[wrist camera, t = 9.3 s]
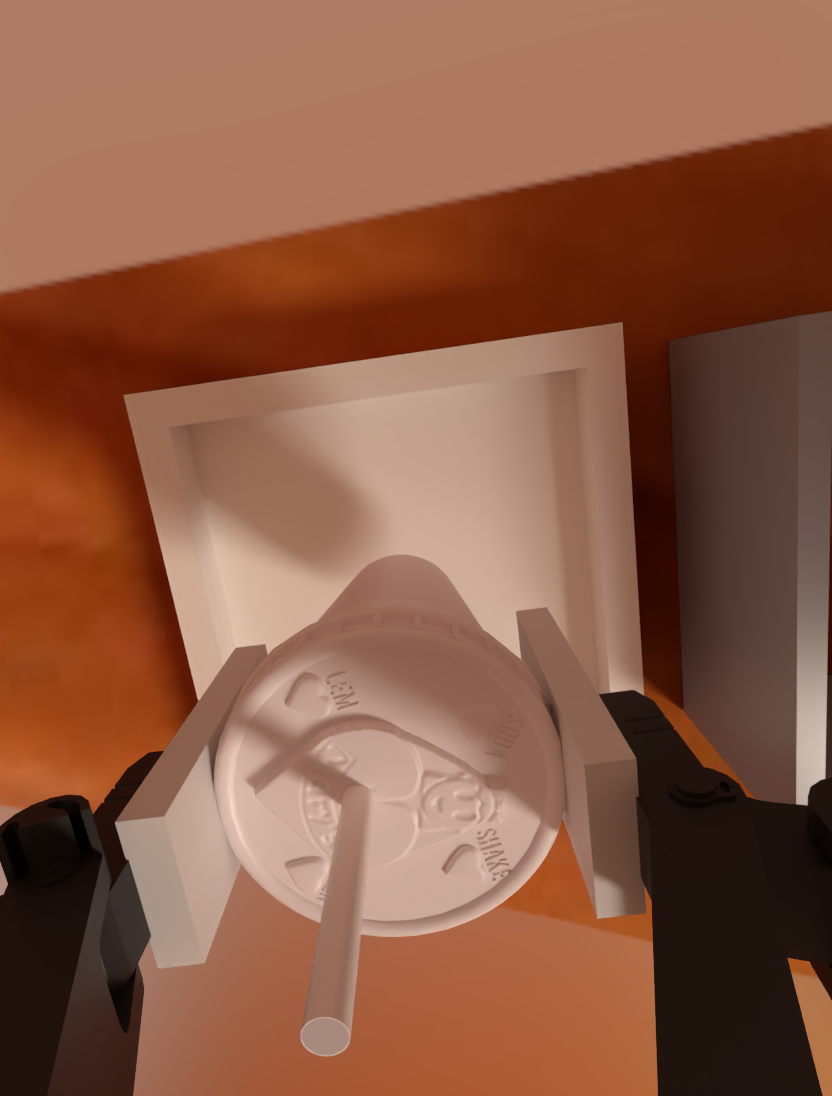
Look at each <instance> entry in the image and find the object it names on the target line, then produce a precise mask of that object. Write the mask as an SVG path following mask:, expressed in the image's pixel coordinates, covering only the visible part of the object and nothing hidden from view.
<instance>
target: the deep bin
mask: <svg viewBox="0 0 832 1096" xmlns="http://www.w3.org/2000/svg"><path fill="white" fill-rule="evenodd" d="M668 344H669V368H670V392H671V417H672V441H673V465H674V489H675V513H676V537H677V562H678V586H679V610H680V634H681V658H682V683H683V707H684V712H685V713H686V714H687V716H688V717H689V718H690V719H691V720H692V722H693V723H694V724H695V725H696V727H697V728H698V729H699V730H700V731H701V733H702V734H703V735H704V736H705V738H706V739H707V740H708V741H709V742H710V744H711V745H712V746H713V747H714V748H715V750H716V751H717V752H718V753H719V755H720V756H721V757H722V758H723V759H724V761H725V762H726V763H727V764H728V766H729V767H730V768H731V769H732V770H733V772H734V773H735V774H736V775H737V777H738V778H739V779H740V780H741V781H742V783H743V784H744V785H745V786H746V787H747V789H748V790H749V791H750V792H751V794H752V795H753V796H754V797H755V798H756V800H762V801H768V802H776V803H787V804H798V805H808V794H809V791H810V787H811V786H813V785H814V784H816V783H817V782H818V781H820V780H822V779H827V778H832V675H827V661H828V608H829V555H830V501H831V448H832V311H828V312H821V313H814V314H807V315H800V316H795V317H789V318H784V319H779V320H774V321H768V322H763V323H758V324H752V325H747V326H742V327H737V328H731V329H726V330H721V331H715V332H710V333H705V334H700V335H694V336H689V337H684V338H679V339H673V340H668Z"/></svg>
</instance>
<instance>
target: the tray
mask: <svg viewBox="0 0 832 1096" xmlns="http://www.w3.org/2000/svg"><path fill="white" fill-rule="evenodd" d="M123 396H124V400H125V404H126V408H127V412H128V416H129V420H130V424H131V428H132V432H133V437H134V441H135V445H136V449H137V453H138V457H139V461H140V465H141V469H142V473H143V477H144V482H145V486H146V490H147V494H148V498H149V502H150V506H151V510H152V514H153V518H154V522H155V526H156V531H157V535H158V539H159V543H160V547H161V551H162V555H163V559H164V563H165V567H166V571H167V576H168V580H169V584H170V588H171V592H172V596H173V600H174V604H175V608H176V612H177V616H178V621H179V625H180V629H181V633H182V637H183V641H184V645H185V649H186V653H187V657H188V661H189V666H190V670H191V674H192V678H193V682H194V686H195V690H196V694H197V698H198V701H199V700H200V699H201V697H202V696H203V694H204V693H205V691H206V690H207V688H208V687H209V686H210V684H211V683H212V681H213V680H214V678H215V677H216V675H217V674H218V673H219V671H220V670H221V668H222V667H223V665H224V664H225V662H226V661H227V660H228V658H229V657H230V655H231V654H232V652H233V651H234V649H235V648H238V647H246V646H254V645H261V644H266V649H267V654H269V653H270V652H271V651H272V650H273V649H274V648H275V647H277V646H278V645H280V644H281V643H283V642H284V641H286V640H287V639H289V638H290V637H292V636H293V635H295V634H296V633H298V632H299V631H301V630H302V629H304V628H305V627H307V626H308V625H310V624H312V623H315V622H317V621H318V620H319V618H320V617H321V616H322V615H323V614H324V613H325V612H326V610H327V609H328V608H329V607H330V606H331V605H332V603H333V602H334V601H335V600H336V599H337V598H338V596H339V595H340V594H341V593H342V592H343V591H344V589H345V588H346V587H347V586H348V585H349V584H350V583H351V581H352V580H353V579H354V578H355V577H356V576H357V574H358V573H359V572H360V571H361V570H362V569H363V568H365V567H366V566H367V565H369V564H370V563H372V562H374V561H376V560H378V559H380V558H383V557H386V556H391V555H412V556H417V557H420V558H423V559H425V560H428V561H430V562H431V563H433V564H435V565H436V566H437V567H439V568H440V569H441V570H442V571H443V572H444V573H445V574H446V575H447V576H448V578H449V579H450V581H451V582H452V584H453V585H454V587H455V588H456V590H457V591H458V593H459V594H460V596H461V597H462V599H463V600H464V602H465V603H466V605H467V606H468V608H469V609H470V611H471V612H472V614H473V615H474V617H475V618H476V620H477V621H478V623H479V624H480V626H481V627H482V629H483V630H484V631H485V632H488V633H489V634H490V635H492V636H493V637H494V638H495V639H496V640H498V641H499V642H500V643H501V644H503V645H504V646H505V647H506V648H507V649H509V650H510V651H511V652H512V653H514V654H515V655H516V656H517V657H518V658H520V659H521V653H520V643H519V634H518V625H517V615H516V611H521V610H528V609H536V608H544V607H547V608H548V610H549V612H550V613H551V615H552V617H553V618H554V620H555V622H556V623H557V625H558V627H559V628H560V630H561V632H562V634H563V635H564V637H565V639H566V640H567V642H568V644H569V645H570V647H571V649H572V650H573V652H574V654H575V656H576V657H577V659H578V661H579V662H580V664H581V666H582V667H583V669H584V671H585V672H586V674H587V676H588V678H589V679H590V681H591V683H592V684H593V686H594V688H595V689H596V691H597V693H598V694H604V693H612V692H620V691H628V690H635V691H637V692H639V693H640V694H642V695H644V686H643V668H642V651H641V634H640V616H639V599H638V582H637V564H636V547H635V530H634V512H633V495H632V478H631V460H630V443H629V425H628V408H627V391H626V373H625V356H624V339H623V322H620V323H613V324H606V325H599V326H593V327H586V328H579V329H572V330H565V331H558V332H552V333H545V334H538V335H531V336H524V337H517V338H511V339H504V340H497V341H490V342H483V343H476V344H470V345H463V346H456V347H449V348H442V349H435V350H428V351H422V352H415V353H408V354H401V355H394V356H387V357H381V358H374V359H367V360H360V361H353V362H346V363H340V364H333V365H326V366H319V367H312V368H305V369H298V370H292V371H285V372H278V373H271V374H264V375H257V376H251V377H244V378H237V379H230V380H223V381H216V382H210V383H203V384H196V385H189V386H182V387H175V388H168V389H162V390H155V391H148V392H141V393H134V394H127V395H123Z"/></svg>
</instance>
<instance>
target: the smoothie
mask: <svg viewBox="0 0 832 1096" xmlns="http://www.w3.org/2000/svg"><path fill="white" fill-rule="evenodd" d="M214 792H215V799H216V803H217V807H218V813H219V817H220V820H221V823H222V827H223V831H224V833H225V835H226V838H227V840H228V842H229V844H230V846H231V848H232V849H233V851H234V853H235V855H236V856H237V858H238V859H239V861H240V862H241V863H242V865H243V866H244V868H245V869H246V870H247V871H248V872H249V873H250V875H251V876H252V877H253V878H254V879H255V880H256V882H258V883H259V884H260V885H261V886H262V887H263V888H264V889H265V890H266V891H267V892H268V893H270V894H271V895H272V896H273V897H275V898H276V899H277V900H278V901H280V902H281V903H283V904H284V905H286V906H287V907H289V908H290V909H292V910H294V911H295V912H297V913H299V914H301V915H303V916H305V917H307V918H309V919H312V920H314V921H316V922H318V923H320V927H319V933H318V939H317V944H316V950H315V956H314V961H313V967H312V973H311V978H310V984H309V989H308V995H307V1001H306V1006H305V1012H304V1017H303V1023H302V1029H301V1035H300V1037H301V1042H302V1044H303V1045H304V1047H305V1048H306V1049H307V1050H309V1051H310V1052H312V1053H314V1054H316V1055H320V1056H333V1055H336V1054H339V1053H341V1052H342V1051H344V1050H345V1049H346V1048H347V1046H348V1045H349V1043H350V1037H351V1028H352V1018H353V1008H354V998H355V988H356V978H357V968H358V958H359V947H360V938H361V934H364V935H372V936H381V937H399V936H400V937H401V936H417V935H421V934H427V933H433V932H437V931H441V930H446V929H449V928H452V927H455V926H457V925H461V924H463V923H466V922H468V921H470V920H473V919H475V918H477V917H479V916H481V915H483V914H485V913H486V912H488V911H490V910H492V909H493V908H495V907H496V906H498V905H499V904H501V903H502V902H504V901H505V900H506V899H508V898H509V897H510V896H511V895H513V894H514V893H515V892H516V891H517V890H518V889H520V888H521V887H522V886H523V885H524V884H525V883H526V882H527V881H528V880H529V878H530V877H531V876H532V875H533V874H534V872H535V871H536V870H537V869H538V868H539V866H540V865H541V863H542V862H543V860H544V859H545V857H546V856H547V854H548V852H549V850H550V848H551V847H552V845H553V843H554V841H555V838H556V836H557V833H558V831H559V828H560V825H561V822H562V818H563V815H564V809H565V804H566V786H565V772H564V763H563V755H562V746H561V741H560V738H559V735H558V733H557V730H556V728H555V725H554V723H553V721H552V713H551V707H550V703H549V700H548V697H547V695H546V694H545V692H544V691H543V689H542V688H541V687H540V685H539V684H538V682H537V681H536V679H535V678H534V676H533V675H532V674H531V672H530V671H529V669H528V668H527V666H526V665H525V664H524V662H523V661H522V660H521V659H520V658H518V657H517V656H516V655H515V654H514V653H512V652H511V651H510V650H509V649H507V648H506V647H505V646H504V645H503V644H501V643H500V642H499V641H498V640H496V639H495V638H494V637H493V636H492V635H490V634H489V633H488V632H485V631H484V630H483V629H482V627H481V626H480V624H479V623H478V621H477V620H476V618H475V617H474V615H473V614H472V612H471V611H470V609H469V608H468V606H467V605H466V603H465V602H464V600H463V599H462V597H461V596H460V594H459V593H458V591H457V590H456V588H455V587H454V585H453V584H452V582H451V581H450V579H449V578H448V576H447V575H446V574H445V573H444V572H443V571H442V570H441V569H440V568H439V567H437V566H436V565H435V564H433V563H431V562H430V561H428V560H425V559H423V558H420V557H417V556H412V555H391V556H386V557H383V558H380V559H378V560H376V561H374V562H372V563H370V564H369V565H367V566H366V567H365V568H363V569H362V570H361V571H360V572H359V573H358V574H357V576H356V577H355V578H354V579H353V580H352V581H351V583H350V584H349V585H348V586H347V587H346V588H345V589H344V591H343V592H342V593H341V594H340V595H339V596H338V598H337V599H336V600H335V601H334V602H333V603H332V605H331V606H330V607H329V608H328V609H327V610H326V612H325V613H324V614H323V615H322V616H321V617H320V618H319V620H318V621H317V622H315V623H312V624H310V625H308V626H307V627H305V628H304V629H302V630H301V631H299V632H298V633H296V634H295V635H293V636H292V637H290V638H289V639H287V640H286V641H284V642H283V643H281V644H280V645H278V646H277V647H275V648H274V649H273V650H272V651H271V652H270V653H269V654H268V655H267V657H266V658H265V659H264V660H263V661H262V662H261V664H260V665H259V666H258V667H257V668H256V669H255V671H254V672H253V673H252V674H251V675H250V677H249V678H248V679H247V680H246V681H245V683H244V685H243V687H242V690H241V692H240V694H239V696H238V699H237V701H236V703H235V705H234V708H233V710H232V712H231V714H230V717H229V719H228V721H227V723H226V725H225V728H224V730H223V733H222V735H221V738H220V742H219V745H218V749H217V753H216V760H215V767H214Z"/></svg>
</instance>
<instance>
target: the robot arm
mask: <svg viewBox="0 0 832 1096" xmlns="http://www.w3.org/2000/svg"><path fill="white" fill-rule="evenodd" d="M516 615H517V625H518V634H519V643H520V653H521V660H522V661H523V662H524V664H525V665H526V666H527V668H528V669H529V671H530V672H531V674H532V675H533V676H534V678H535V679H536V681H537V682H538V684H539V685H540V687H541V688H542V689H543V691H544V692H545V694H546V695H547V697H548V700H549V703H550V707H551V713H552V721H553V723H554V725H555V728H556V730H557V733H558V735H559V738H560V741H561V746H562V755H563V763H564V772H565V786H566V804H565V809H564V815H563V819H564V822H565V825H566V828H567V831H568V834H569V837H570V840H571V843H572V846H573V849H574V852H575V855H576V858H577V860H578V863H579V866H580V869H581V872H582V875H583V878H584V881H585V884H586V887H587V890H588V893H589V896H590V899H591V902H592V905H593V908H594V911H595V914H596V916H597V919H599V918H608V917H616V916H625V915H634V914H643V913H646V905H645V889H644V885H645V887H646V889H647V891H648V894H649V896H650V898H651V900H652V925H653V954H654V984H655V1013H656V1014H655V1015H656V1042H657V1043H656V1044H657V1075H658V1096H822V1092H821V1088H820V1084H819V1080H818V1076H817V1073H816V1069H815V1064H814V1061H813V1057H812V1053H811V1049H810V1045H809V1041H808V1037H807V1033H806V1030H805V1026H804V1022H803V1018H802V1014H801V1010H800V1006H799V1002H798V998H797V994H796V990H795V987H794V982H793V979H792V974H791V970H790V967H789V963H788V959H787V958H793V959H799V960H805V961H810V963H811V965H812V967H813V969H814V971H815V972H816V974H817V976H818V977H819V979H820V981H821V982H822V984H823V986H824V987H825V989H826V991H827V993H828V994H829V996H830V998H831V1000H832V778H827V779H822V780H820V781H818V782H817V783H816V784H814V785H813V786H811V787H810V791H809V794H808V805H798V804H787V803H776V802H768V801H762V800H756V799H752V798H749V797H746V795H745V793H744V791H743V790H742V788H741V786H740V785H739V784H738V783H737V782H736V781H734V780H733V779H732V778H730V777H729V776H727V775H726V774H723V773H721V772H718V771H716V770H713V769H710V768H705V767H703V766H702V764H701V763H700V762H699V760H698V759H697V758H696V756H695V755H694V754H693V752H692V751H691V750H690V748H689V747H688V746H687V745H686V743H685V742H684V741H683V739H682V738H681V737H680V735H679V734H678V733H677V731H676V730H674V728H673V726H672V725H671V723H670V722H669V721H668V719H667V718H665V716H664V714H663V713H662V711H661V710H660V709H659V707H658V706H657V705H656V703H655V702H654V701H653V700H651V699H649V698H648V697H646V696H644V695H642V694H640V693H639V692H637V691H635V690H628V691H620V692H612V693H604V694H598V693H597V691H596V689H595V688H594V686H593V684H592V683H591V681H590V679H589V678H588V676H587V674H586V672H585V671H584V669H583V667H582V666H581V664H580V662H579V661H578V659H577V657H576V656H575V654H574V652H573V650H572V649H571V647H570V645H569V644H568V642H567V640H566V639H565V637H564V635H563V634H562V632H561V630H560V628H559V627H558V625H557V623H556V622H555V620H554V618H553V617H552V615H551V613H550V612H549V610H548V608H547V607H544V608H536V609H528V610H521V611H516ZM267 655H268V654H267V649H266V644H261V645H254V646H246V647H238V648H235V649H234V651H233V652H232V654H231V655H230V657H229V658H228V660H227V661H226V662H225V664H224V665H223V667H222V668H221V670H220V671H219V673H218V674H217V675H216V677H215V678H214V680H213V681H212V683H211V684H210V686H209V687H208V688H207V690H206V691H205V693H204V694H203V696H202V697H201V699H200V700H199V701H198V703H197V704H196V706H195V707H194V709H193V710H192V712H191V713H190V714H189V716H188V717H187V719H186V720H185V722H184V723H183V725H182V726H181V727H180V729H179V730H178V732H177V733H176V735H175V736H174V738H173V739H172V740H171V742H170V743H169V745H168V746H167V748H166V749H165V751H158V752H150V753H148V754H146V755H145V756H144V757H142V758H141V759H140V760H138V761H137V762H136V763H134V764H133V765H132V766H130V767H129V768H128V769H127V770H126V771H125V773H124V774H123V775H122V777H121V778H120V779H119V781H118V782H117V783H116V785H115V789H112V790H111V791H110V793H109V794H108V795H107V797H106V798H105V799H104V803H101V805H100V806H99V807H98V808H97V810H96V811H95V812H94V814H92V811H91V807H90V804H89V801H88V800H87V799H85V798H84V797H82V796H79V795H64V796H59V797H54V798H50V799H47V800H44V801H42V802H39V803H36V804H34V805H31V806H30V807H28V808H26V809H24V810H22V811H20V812H19V813H17V814H15V815H14V816H13V817H11V818H10V819H9V820H7V821H6V822H5V823H3V824H2V825H1V826H0V862H1V865H2V868H3V871H4V873H5V876H6V879H7V882H8V886H7V888H6V890H5V893H4V895H1V896H0V1096H133V1091H134V1082H135V1072H136V1062H137V1052H138V1044H139V1034H140V1024H141V1015H142V1006H143V996H144V985H143V979H142V975H141V972H140V969H139V965H138V962H139V960H140V958H141V956H142V954H143V952H144V950H145V948H146V946H147V943H148V941H149V940H150V943H151V947H152V950H153V953H154V956H155V960H156V964H157V967H158V969H159V968H167V967H176V966H185V965H193V964H202V963H205V961H206V958H207V955H208V952H209V950H210V947H211V944H212V941H213V939H214V935H215V933H216V931H217V928H218V925H219V922H220V920H221V917H222V914H223V912H224V908H225V906H226V903H227V901H228V898H229V895H230V892H231V890H232V887H233V884H234V881H235V879H236V876H237V873H238V871H239V868H240V865H241V862H240V861H239V859H238V858H237V856H236V855H235V853H234V851H233V849H232V848H231V846H230V844H229V842H228V840H227V838H226V835H225V833H224V831H223V827H222V823H221V820H220V817H219V813H218V807H217V803H216V799H215V792H214V767H215V760H216V753H217V749H218V745H219V742H220V738H221V735H222V733H223V730H224V728H225V725H226V723H227V721H228V719H229V717H230V714H231V712H232V710H233V708H234V705H235V703H236V701H237V699H238V696H239V694H240V692H241V690H242V687H243V685H244V683H245V681H246V680H247V679H248V678H249V677H250V675H251V674H252V673H253V672H254V671H255V669H256V668H257V667H258V666H259V665H260V664H261V662H262V661H263V660H264V659H265V658H266V657H267Z"/></svg>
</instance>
